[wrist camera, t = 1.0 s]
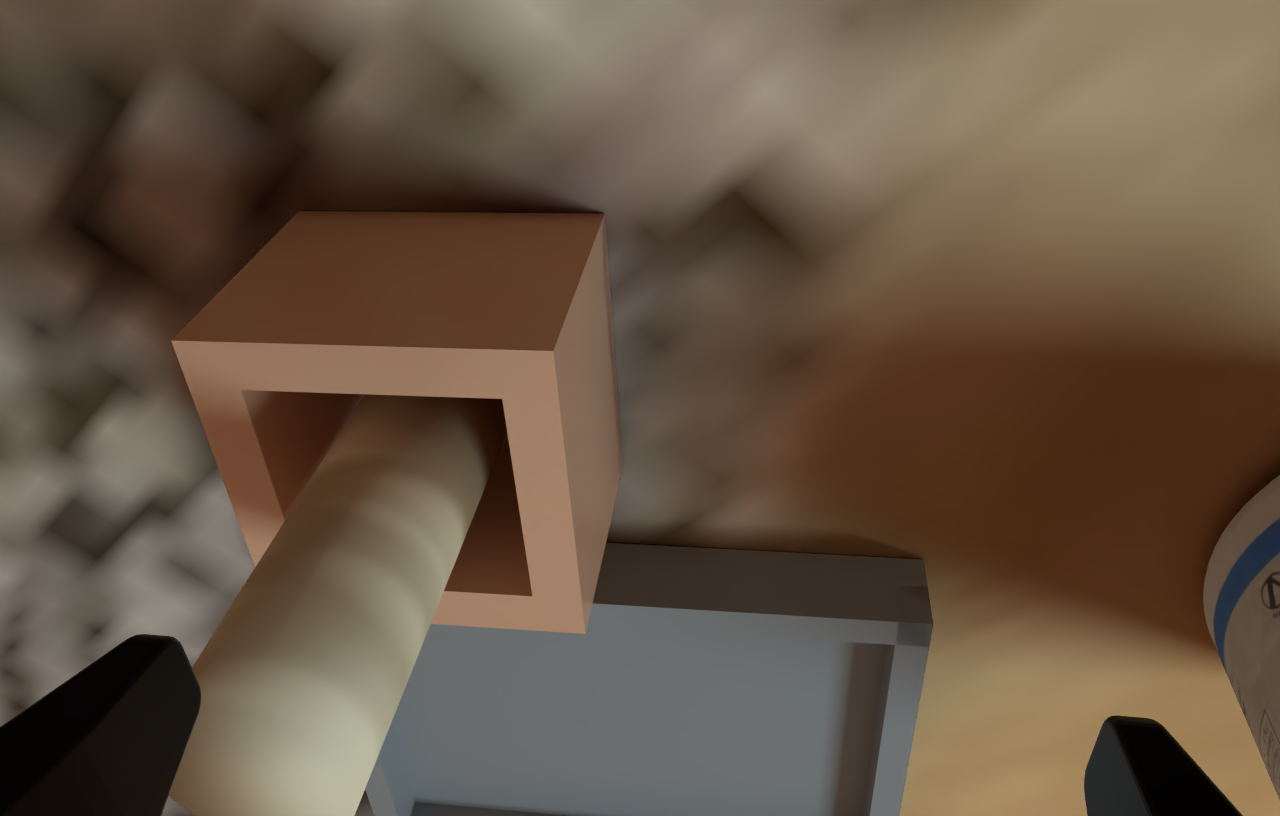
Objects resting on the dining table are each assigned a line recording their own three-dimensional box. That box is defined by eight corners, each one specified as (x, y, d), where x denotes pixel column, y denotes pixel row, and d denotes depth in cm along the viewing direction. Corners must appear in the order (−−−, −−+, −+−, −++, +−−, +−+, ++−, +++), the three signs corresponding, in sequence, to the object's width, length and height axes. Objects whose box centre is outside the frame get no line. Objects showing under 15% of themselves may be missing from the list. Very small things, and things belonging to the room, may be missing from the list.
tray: (923, 559, 25) (933, 624, 23) (879, 829, 32) (884, 895, 30) (327, 527, 27) (295, 585, 25) (406, 787, 34) (385, 847, 32)
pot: (604, 213, 21) (553, 351, 16) (623, 466, 25) (585, 633, 20) (299, 210, 22) (171, 340, 17) (363, 455, 26) (272, 613, 21)
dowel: (520, 305, 22) (329, 721, 13) (535, 416, 23) (375, 852, 14) (389, 302, 22) (114, 704, 13) (413, 411, 24) (184, 833, 15)
